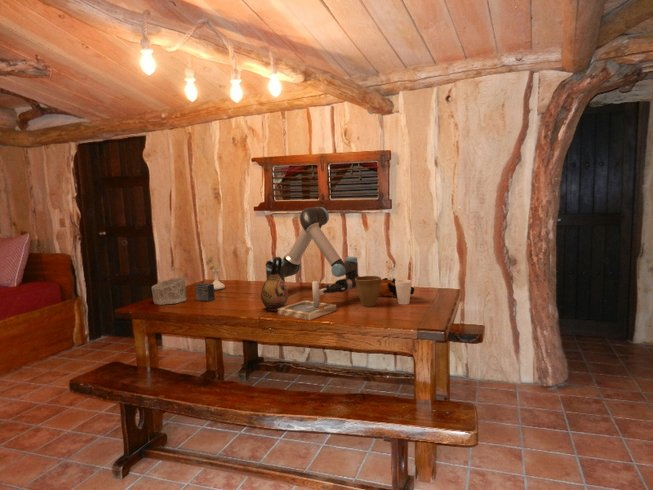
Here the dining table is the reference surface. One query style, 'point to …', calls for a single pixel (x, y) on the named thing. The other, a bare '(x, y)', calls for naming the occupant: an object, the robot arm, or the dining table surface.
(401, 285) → the foam cup
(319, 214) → the robot arm
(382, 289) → the tool
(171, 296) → the petrified wood
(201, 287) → the small box
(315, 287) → the beige peg stand
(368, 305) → the plant pot
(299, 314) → the wooden square tray
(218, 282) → the flower in vase
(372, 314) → the dining table surface
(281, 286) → the ceramic jug
